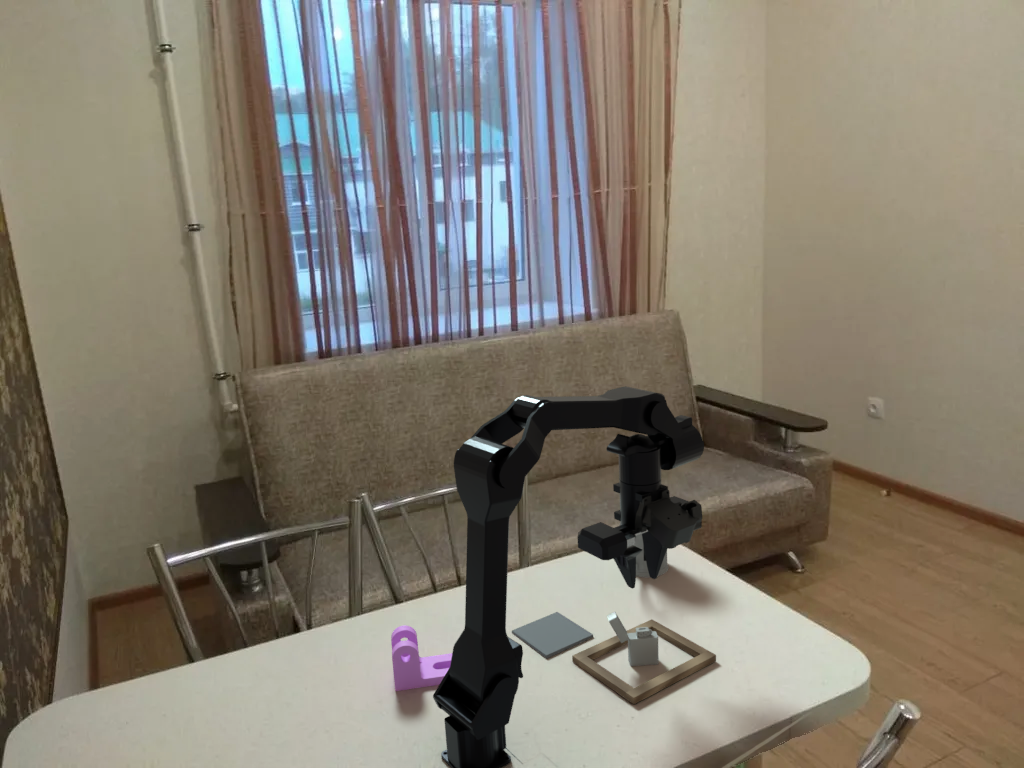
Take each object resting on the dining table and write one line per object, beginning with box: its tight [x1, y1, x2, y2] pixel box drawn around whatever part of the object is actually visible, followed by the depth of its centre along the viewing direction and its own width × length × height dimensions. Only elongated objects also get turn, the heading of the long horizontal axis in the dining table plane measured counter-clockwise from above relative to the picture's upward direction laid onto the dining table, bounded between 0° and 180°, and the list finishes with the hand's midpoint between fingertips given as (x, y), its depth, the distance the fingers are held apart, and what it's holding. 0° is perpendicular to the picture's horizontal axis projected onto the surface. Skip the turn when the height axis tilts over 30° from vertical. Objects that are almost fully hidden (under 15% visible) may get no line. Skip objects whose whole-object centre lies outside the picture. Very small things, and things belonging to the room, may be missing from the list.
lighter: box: [606, 611, 660, 667], centre depth 115 cm, size 7×2×8 cm, turn 92°
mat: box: [511, 611, 594, 659], centre depth 124 cm, size 9×9×1 cm
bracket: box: [390, 624, 453, 692], centre depth 115 cm, size 13×6×7 cm, turn 100°
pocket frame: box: [571, 618, 717, 705], centre depth 116 cm, size 16×13×1 cm
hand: (642, 582), depth 113 cm, fingers open, 4 cm apart
